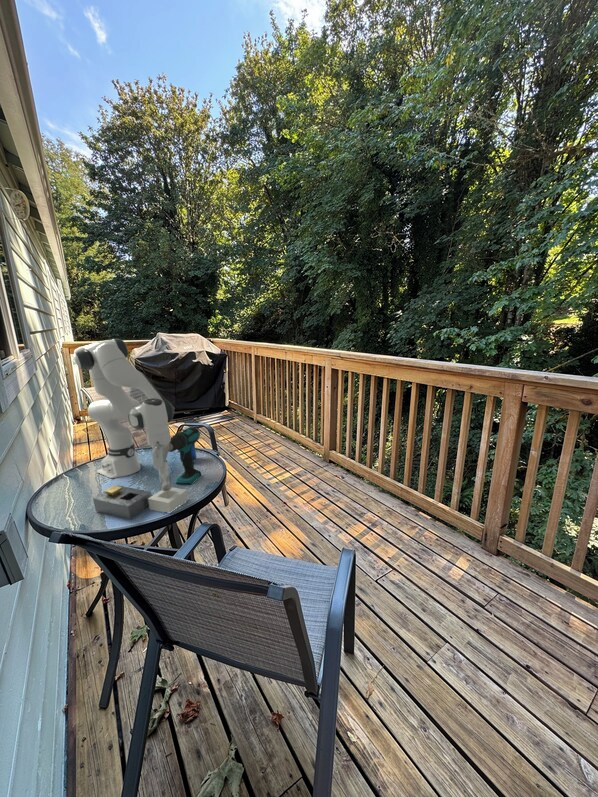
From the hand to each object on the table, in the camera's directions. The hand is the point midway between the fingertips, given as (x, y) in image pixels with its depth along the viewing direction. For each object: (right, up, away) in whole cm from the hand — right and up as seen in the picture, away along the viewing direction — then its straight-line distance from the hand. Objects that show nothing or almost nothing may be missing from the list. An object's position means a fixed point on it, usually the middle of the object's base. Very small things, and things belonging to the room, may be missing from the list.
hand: (163, 469), depth 145 cm
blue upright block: (-5, -5, +48) cm, 49 cm away
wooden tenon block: (-22, -16, +5) cm, 28 cm away
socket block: (-18, -17, +3) cm, 25 cm away
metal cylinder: (0, -8, +2) cm, 9 cm away
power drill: (+2, -11, +25) cm, 27 cm away
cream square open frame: (+1, -16, +4) cm, 16 cm away
